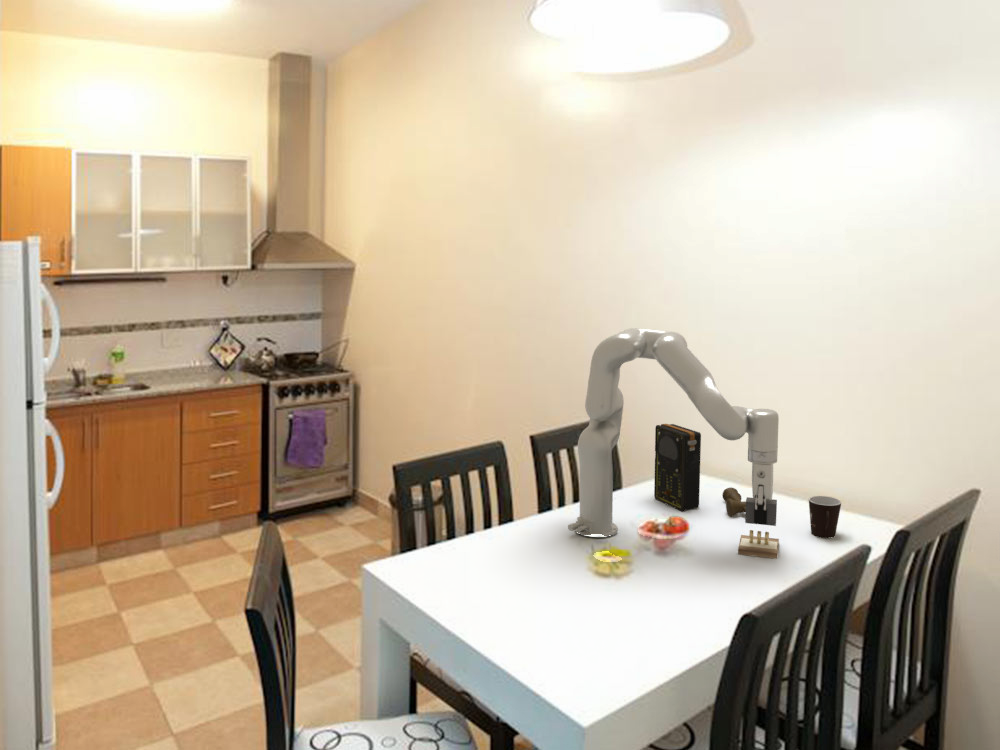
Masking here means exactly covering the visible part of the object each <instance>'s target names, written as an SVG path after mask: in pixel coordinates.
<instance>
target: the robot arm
mask: <svg viewBox="0 0 1000 750" xmlns="http://www.w3.org/2000/svg"><path fill="white" fill-rule="evenodd" d="M635 359H647V360H656V362H657V363H658V364H659V365H660V367H662V369H663V370H664V371H665V372H666V373H667V374H668V376H670V377H671V378H672V379H673V381H675V383H676V384H677V385H678V386H679V387H680V388H681V389H682V390H683V392H685V394H686V395H687V397H688V399H689V400H690V401H691V403H692V404H693V405H694V407H695V408H696V410H697V411H698V412H699V414H700V415H701V416H702V418H703V419H704V420H705V421H706V422H707V423H708V424H709V425H710V426H711V427H712V429H713V430H714V431H715V432H716V433H717V434H718V435H719V436H720V437H722V438H723V439H725V440H727V441H737V440H740V439H742V438H743V437H744V436H745V434H747V436H748V437H747V438H748V439H747V461H748V462H750V463H752V464H751V465H752V466H751V481H752V482H751V487H752V498H754V499H755V498H756V499H755V509H754V523H755V524H754V525H761V524H762V525H763V526H767V525H766V524H767V510H766V499H769V500H772V499H773V494H774V492H773V491H774V464H777V463H778V447H779V445H778V444H779V413H778V412H777V411H776V410H773V409H769V408H750V407H749V408H748V407H743V406H740V405H739V406H738V405H737V406H736V405H733V406H732V405H731V404H730V402H728V401H727V399H726V398H725V397H724V395H722V393H721V392H720V390H719V388H718V387H717V384H716V382H715V378H714V377H713V375H712V373H711V371H710V370H708V368H707V367H706V366H705V364H703V363H702V362H701V361H700V360H699V358H697V356H695V355H694V353H693V352H692V351H691V350H690V349H689V347H688V342H687V341H686V338H685V337H684V336H683V335H682V334H680V333H678V332H675V331H668V330H656V329H655V330H654V329H646V328H645V329H644V328H632V327H631V328H628V329H624V330H623V331H620V332H618V333H616V334H613V335H611V336H608V337H607V338H605V339H603V340H602V341H601V342H600V343H599V344H598V345H597V346H596V348H595V349H594V351H593V353H592V357H591V361H590V367H589V376H588V381H587V389H586V395H585V397H586V398H585V404H584V408H585V412H586V415H587V416H588V417H589V423H588V426H586V428H584V429H583V431H582V432H581V433H580V435H579V437H578V442H577V452H578V453H577V454H578V462H579V463H578V465H579V516H577V518H576V521H575V522H573V523H569V524H567V529H568V531H570V532H572V531H574V532H575V531H576V532H578V533H580V534H582V535H591V534H602V535H604V536H609V535H613V534H615V535H617V533H618V532H617V531H619V527H618V525H616V524H615V523H613V512H614V511H613V507H614V506H613V505H614V504H613V501H614V499H613V495H614V494H613V493H614V491H613V488H614V485H613V484H614V481H613V480H614V472H613V470H614V469H613V467H614V465H613V455H612V454H613V453H612V451H613V449H614V448H615V446H616V445H617V444H618V441H619V440H620V439H619V438H620V434H621V426H622V419H623V411H624V404H625V403H624V395H623V392H622V391H621V389H620V388H619V382H620V377H621V375H620V373H621V367H622V365H623V364H625V363H627V362H632V361H634V360H635ZM763 501H764V503H763ZM762 525H761V526H762ZM576 532H575V533H576ZM613 536H614V535H613Z"/></svg>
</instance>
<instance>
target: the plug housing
mask: <svg viewBox="0 0 1000 750" xmlns="http://www.w3.org/2000/svg"><path fill="white" fill-rule="evenodd" d="M755 499H756V498H755ZM755 499H754V498H753V497H747V496H746V499H745V502H746V512H745V513H744V514H745V518H744V519H745V521H744V522H745V524H754V525H756V524H755V523H754V509H755ZM763 503H764V501H763ZM777 504H778V500H777V499H773V498H772V500H769V499H766V510H767V524H766V525H765V526H771V527H772V526H774V527H776V525H777V510H778V507H777V506H778V505H777ZM760 525H761V526H762V524H760Z"/></svg>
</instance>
